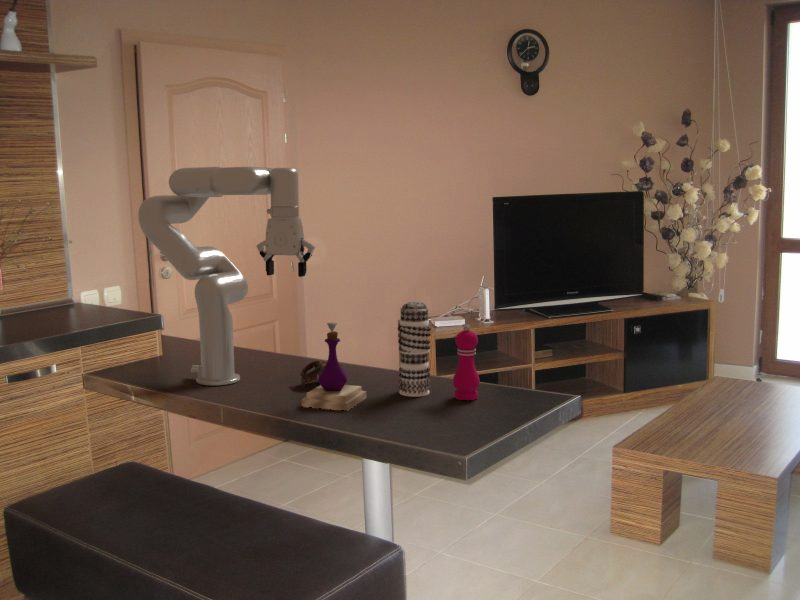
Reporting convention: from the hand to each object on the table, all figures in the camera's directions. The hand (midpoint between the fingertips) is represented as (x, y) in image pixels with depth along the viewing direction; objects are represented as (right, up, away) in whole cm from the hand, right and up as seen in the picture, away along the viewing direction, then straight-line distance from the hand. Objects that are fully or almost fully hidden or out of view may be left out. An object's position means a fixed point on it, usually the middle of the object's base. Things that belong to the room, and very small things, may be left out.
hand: (286, 275), depth 215 cm
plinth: (+14, -34, -10) cm, 38 cm away
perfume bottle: (+14, -31, -10) cm, 35 cm away
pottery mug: (+8, -31, +10) cm, 34 cm away
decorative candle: (+36, -33, 0) cm, 48 cm away
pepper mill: (+49, -33, -6) cm, 60 cm away
